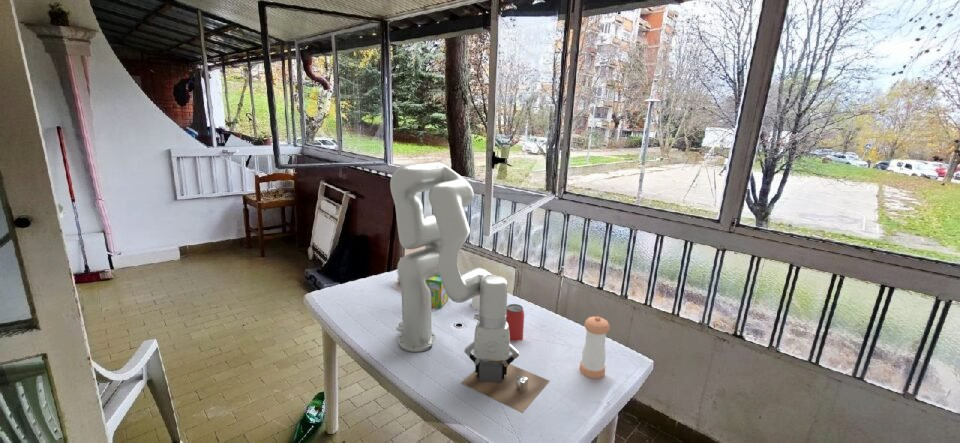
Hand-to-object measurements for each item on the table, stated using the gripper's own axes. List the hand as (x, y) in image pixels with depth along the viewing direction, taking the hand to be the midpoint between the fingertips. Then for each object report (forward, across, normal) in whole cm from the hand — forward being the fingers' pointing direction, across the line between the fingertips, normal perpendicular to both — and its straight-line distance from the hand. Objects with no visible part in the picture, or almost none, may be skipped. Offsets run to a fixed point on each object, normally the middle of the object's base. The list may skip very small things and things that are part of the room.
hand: (491, 374), depth 119 cm
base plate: (+2, +4, -2) cm, 5 cm away
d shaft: (0, +9, -5) cm, 10 cm away
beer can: (+2, +6, +23) cm, 24 cm away
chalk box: (+2, -26, +47) cm, 54 cm away
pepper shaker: (+2, +30, +6) cm, 31 cm away
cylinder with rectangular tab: (+2, -6, +47) cm, 48 cm away
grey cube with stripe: (0, 0, 0) cm, 0 cm away
